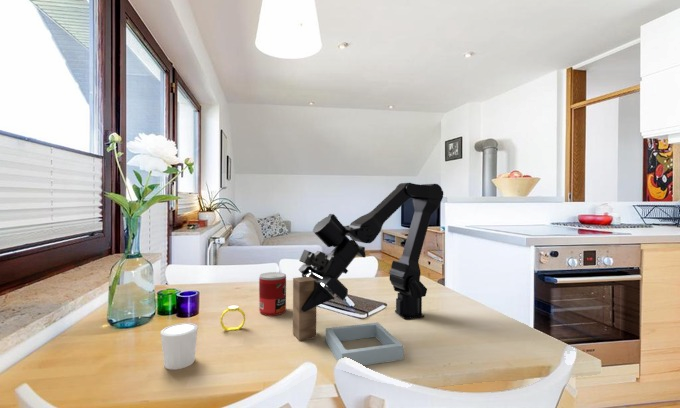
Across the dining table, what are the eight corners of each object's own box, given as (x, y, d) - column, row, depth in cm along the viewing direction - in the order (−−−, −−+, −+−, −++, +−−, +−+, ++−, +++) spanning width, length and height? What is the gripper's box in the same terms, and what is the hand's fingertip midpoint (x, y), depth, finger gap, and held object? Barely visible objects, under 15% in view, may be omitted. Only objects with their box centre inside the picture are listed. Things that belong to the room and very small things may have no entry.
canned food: (280, 316, 94) (280, 278, 94) (254, 314, 95) (254, 277, 95) (289, 308, 101) (289, 272, 101) (265, 306, 103) (265, 271, 103)
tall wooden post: (309, 330, 84) (309, 276, 84) (316, 337, 80) (316, 280, 80) (292, 334, 82) (293, 278, 82) (299, 340, 78) (299, 282, 78)
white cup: (169, 355, 71) (169, 322, 70) (202, 354, 71) (202, 321, 71) (154, 372, 64) (154, 336, 64) (190, 370, 64) (190, 335, 64)
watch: (244, 327, 87) (246, 305, 87) (244, 331, 84) (246, 308, 84) (220, 328, 85) (222, 305, 85) (219, 332, 82) (221, 308, 82)
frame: (378, 334, 82) (378, 322, 82) (403, 359, 69) (403, 345, 69) (325, 340, 78) (325, 328, 78) (342, 368, 65) (342, 353, 65)
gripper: (305, 234, 91) (266, 278, 86) (336, 242, 74) (289, 298, 69) (331, 260, 94) (294, 304, 89) (365, 273, 78) (323, 328, 73)
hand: (299, 307), depth 80 cm, fingers closed on tall wooden post, 4 cm apart
